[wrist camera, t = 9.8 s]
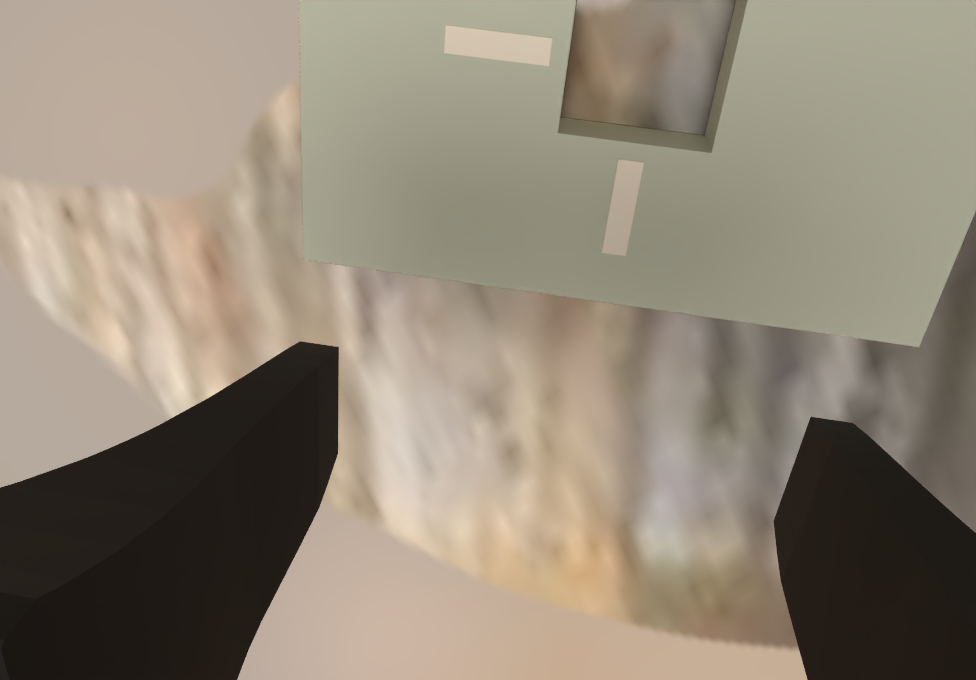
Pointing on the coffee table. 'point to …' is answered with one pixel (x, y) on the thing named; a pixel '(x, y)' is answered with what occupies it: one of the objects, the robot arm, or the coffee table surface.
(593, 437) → the coffee table surface
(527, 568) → the coffee table surface
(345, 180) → the plate
